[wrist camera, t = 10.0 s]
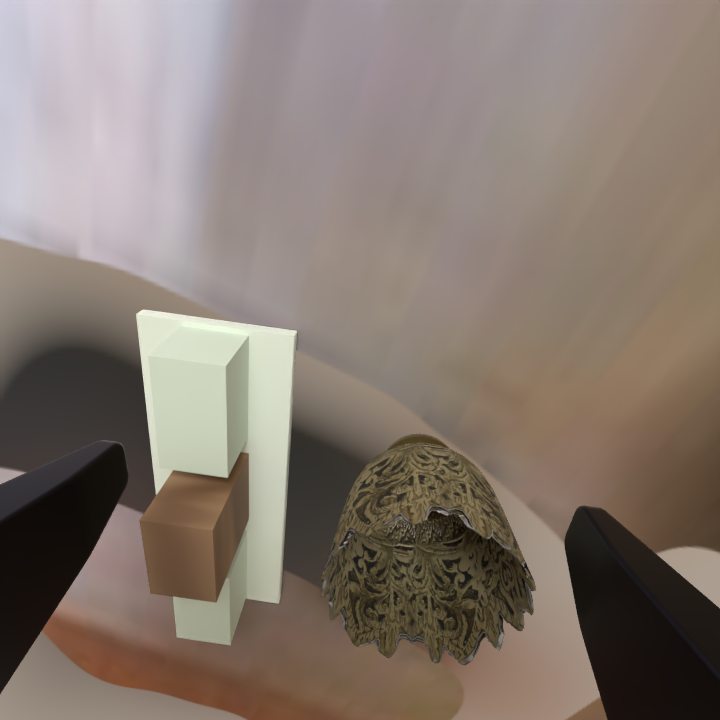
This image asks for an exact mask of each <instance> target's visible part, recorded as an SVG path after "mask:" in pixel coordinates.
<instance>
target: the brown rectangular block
mask: <svg viewBox="0 0 720 720" xmlns="http://www.w3.org/2000/svg"><path fill="white" fill-rule="evenodd" d="M248 520H249V453H244V452H240V454H239V456H238V458H237V460H236V462H235V464H234V466H233V468H232V470H231V472H230V474H229V476H228V478H225V477H218V476H211V475H204V474H197V473H190V472H183V471H176V470H173V471H172V473H171V474H170V476H169V477H168V479H167V480H166V482H165V483H164V485H163V486H162V488H161V489H160V491H159V492H158V494H157V495H156V497H155V498H154V500H153V501H152V503H151V505H150V506H149V507H148V509H147V510H146V512H145V513H144V515H143V516H142V518H141V519H140V526H141V533H142V539H143V546H144V553H145V559H146V566H147V573H148V579H149V586H150V592H151V594H158V595H166V596H173V597H180V598H187V599H194V600H201V601H208V602H215V603H216V602H217V600H218V597H219V595H220V592H221V590H222V587H223V584H224V582H225V579H226V577H227V574H228V571H229V569H230V566H231V564H232V561H233V559H234V556H235V553H236V551H237V548H238V546H239V543H240V541H241V538H242V535H243V533H244V530H245V528H246V525H247V523H248Z"/></svg>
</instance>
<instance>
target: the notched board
mask: <svg viewBox="0 0 720 720" xmlns="http://www.w3.org/2000/svg"><path fill="white" fill-rule="evenodd" d="M136 317H137V326H138V334H139V344H140V352H141V361H142V371H143V380H144V389H145V399H146V408H147V417H148V426H149V434H150V444H151V452H152V462H153V471H154V480H155V489H156V495H157V494H158V492H159V491H160V489H161V488H162V486H163V485H164V483H165V482H166V480H167V479H168V477H169V476H170V474H171V473H172V471H173V470H176V471H183V472H190V473H197V474H204V475H211V476H218V477H225V478H228V476H229V474H230V472H231V470H232V468H233V466H234V464H235V462H236V460H237V458H238V456H239V454H240V452H244V453H249V520H248V523H247V525H246V528H245V530H244V533H243V535H242V538H241V541H240V543H239V546H238V548H237V551H236V553H235V556H234V559H233V561H232V564H231V566H230V569H229V571H228V574H227V577H226V579H225V582H224V584H223V587H222V590H221V592H220V595H219V597H218V600H217V602H216V603H215V602H208V601H201V600H194V599H187V598H180V597H173V604H174V614H175V624H176V634H177V637H178V638H184V639H191V640H198V641H204V642H211V643H218V644H224V645H231V642H232V639H233V636H234V633H235V630H236V627H237V624H238V621H239V618H240V615H241V612H242V609H243V606H244V603H245V599H251V600H258V601H264V602H271V603H278V604H279V601H280V597H281V587H282V571H283V555H284V538H285V522H286V505H287V489H288V473H289V472H288V471H289V456H290V439H291V423H292V406H293V390H294V389H293V388H294V373H295V357H296V341H297V331H294V330H287V329H279V328H272V327H265V326H258V325H251V324H244V323H236V322H229V321H222V320H214V319H208V318H200V317H193V316H186V315H179V314H172V313H164V312H157V311H150V310H142V311H140V312H139V313H137V314H136Z"/></svg>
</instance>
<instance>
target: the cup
mask: <svg viewBox="0 0 720 720" xmlns="http://www.w3.org/2000/svg"><path fill="white" fill-rule="evenodd" d="M526 575H527V576H528V578H527V577H526ZM321 579H322V582H323V585H322V591H321V597H324V596H326V594H327V593H328V592H329V590H330V598H329V608H330V620H333V619H335V618H336V617H337V616H338V615H339V613H341V615H342V617H343V625H344V628H345V630H346V631H347V633H348V635H349V637H350V639H351V641H352V643H353V644H354V645H355V646H357V647H361V646H364V645H366V644H371V643H376V644H377V647H378V651H379V652H380V653H381V654H383V655H384V656H386V657H387V658H390V657H391V656H392V655H393V654H394V653H395V651H396V649H397V646H398V642H399V641H400V640H401V639H406V640H409V641H410V642H411V643H415V642H421V641H423V642H424V643H425V646H426V647H428V650H429V655H430V658H431V660H432V662H434V663H438V662H440V660H441V659H442V657H443V654H444V650H445V649H446V650H447V651H448V652H449V655H451V656H452V657H454V659H455V660H457V661H458V662H459V663H460V664H462V665H466V664H468V663H469V662H471V661H472V660H473V658H474V657H475V655H476V653H477V652H478V649H479V646H480V642H481V641H482V639H483V638H484V637H487V639H488V641H489V642H490V643H491V644H492V645H493V647H495V648H496V649H497V650H500V649H501V646H502V642H503V637H504V630H503V619H504V620H505V621H506V622H507V623H510V624H511V625H512V626H513V627H514V628H515V629H517V630H518V631H522V630H523V628H524V616H523V613H524V612H525V611H526V612H528V613H530V614H531V615H532V614H533V600H532V595H531V591H536V586H535V583H534V580H533V578H532V576H531V573H530V571H529V569H528V567H527V564H526V562H525V560H524V558H523V555H522V553H521V551H520V548H519V546H518V544H517V541H516V539H515V537H514V534H513V532H512V530H511V527H510V525H509V523H508V520H507V518H506V516H505V514H504V512H503V509H502V507H501V505H500V503H499V501H498V499H497V497H496V495H495V493H494V491H493V489H492V487H491V486H490V484H489V483H488V481H487V480H486V478H485V477H484V475H483V474H482V473H481V472H480V470H479V469H478V468H477V467H476V466H475V465H474V464H472V463H471V462H470V461H469V460H468V459H467V458H465V457H464V456H462V455H461V454H459V453H457V452H455V451H453V450H451V449H449V448H448V447H447V446H446V445H445V444H444V443H443V442H442V441H440V440H439V439H437V438H435V437H432V436H429V435H425V434H412V435H408V436H405V437H402V438H400V439H398V440H397V441H395V442H394V443H393V444H392V445H391V446H390V447H389V448H388V450H387V451H385V452H383V453H382V454H380V455H378V456H377V457H375V458H374V459H373V460H372V461H371V462H370V463H369V464H368V465H367V466H366V467H365V468H364V469H363V471H361V473H360V474H359V476H358V478H357V479H356V481H355V483H354V484H353V486H352V489H351V491H350V493H349V495H348V498H347V500H346V503H345V506H344V508H343V512H342V515H341V518H340V521H339V524H338V527H337V530H336V534H335V537H334V540H333V544H332V547H331V550H330V554H329V557H328V560H327V563H326V565H325V568H324V570H323V573H322V577H321ZM530 589H531V590H530ZM399 637H406V638H400V639H399V640H398V638H399ZM418 640H421V641H418ZM397 641H398V642H397ZM423 642H422V643H423Z"/></svg>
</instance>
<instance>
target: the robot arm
mask: <svg viewBox="0 0 720 720" xmlns="http://www.w3.org/2000/svg"><path fill="white" fill-rule="evenodd" d="M127 482H128V468H127V462H126V457H125V451H124V447H123V445H122V444H121V443H119V442H114V441H106V440H100V441H97V442H94V443H92V444H90V445H88V446H85V447H83V448H81V449H79V450H76V451H74V452H72V453H70V454H67V455H66V456H63V457H61V458H59V459H56V460H54V461H52V462H50V463H47V464H45V465H43V466H41V467H38V468H36V469H34V470H32V471H29V472H27V473H25V474H23V475H20V476H18V477H16V478H14V479H11V480H9V481H7V482H5V483H2V484H0V694H1V692H2V690H3V689H4V687H5V686H6V684H7V683H8V681H9V680H10V678H11V677H12V675H13V674H14V672H15V670H16V669H17V668H18V666H19V664H20V663H21V661H22V660H23V658H24V657H25V655H26V654H27V652H28V651H29V649H30V647H31V646H32V644H33V643H34V641H35V640H36V638H37V637H38V635H39V634H40V632H41V631H42V629H43V628H44V626H45V625H46V623H47V621H48V620H49V618H50V617H51V615H52V614H53V612H54V611H55V609H56V608H57V606H58V605H59V603H60V601H61V600H62V598H63V597H64V595H65V594H66V592H67V591H68V589H69V588H70V586H71V585H72V583H73V582H74V580H75V578H76V577H77V575H78V574H79V572H80V571H81V569H82V568H83V566H84V564H85V563H86V561H87V560H88V558H89V556H90V555H91V553H92V551H93V549H94V547H95V546H96V544H97V542H98V540H99V538H100V536H101V534H102V532H103V530H104V528H105V526H106V525H107V523H108V521H109V519H110V517H111V515H112V513H113V511H114V509H115V507H116V505H117V503H118V501H119V499H120V497H121V495H122V493H123V491H124V490H125V488H126V485H127ZM565 551H566V557H567V562H568V567H569V572H570V578H571V583H572V588H573V594H574V599H575V604H576V609H577V615H578V619H579V624H580V628H581V632H582V635H583V639H584V643H585V646H586V649H587V653H588V656H589V659H590V663H591V666H592V669H593V672H594V676H595V679H596V683H597V686H598V690H599V692H600V696H601V700H602V703H603V706H604V710H605V713H606V716H607V720H720V608H719V607H717V606H716V605H715V604H714V603H713V602H712V601H710V600H709V599H708V598H707V597H706V596H704V595H703V594H702V593H701V592H700V591H699V590H697V589H696V588H695V587H694V586H693V585H692V584H690V583H689V582H688V581H687V580H686V579H685V578H683V577H682V576H681V575H680V574H679V573H677V572H676V571H675V570H674V569H673V568H672V567H671V566H669V565H668V564H667V563H666V562H665V561H664V560H662V559H661V558H660V557H659V556H658V555H657V554H655V553H654V552H653V551H652V550H651V549H649V548H648V547H647V546H646V545H645V544H644V543H642V542H641V541H640V540H639V539H638V538H637V537H635V536H634V535H633V534H632V533H631V532H630V531H628V530H627V529H626V528H625V527H624V526H623V525H621V524H620V523H619V522H618V521H617V520H616V519H614V518H613V517H612V516H611V515H610V514H609V513H607V512H606V511H605V510H603V509H601V508H597V507H590V506H580V507H578V508H577V510H576V511H575V514H574V516H573V519H572V521H571V523H570V526H569V528H568V531H567V533H566V536H565Z"/></svg>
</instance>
